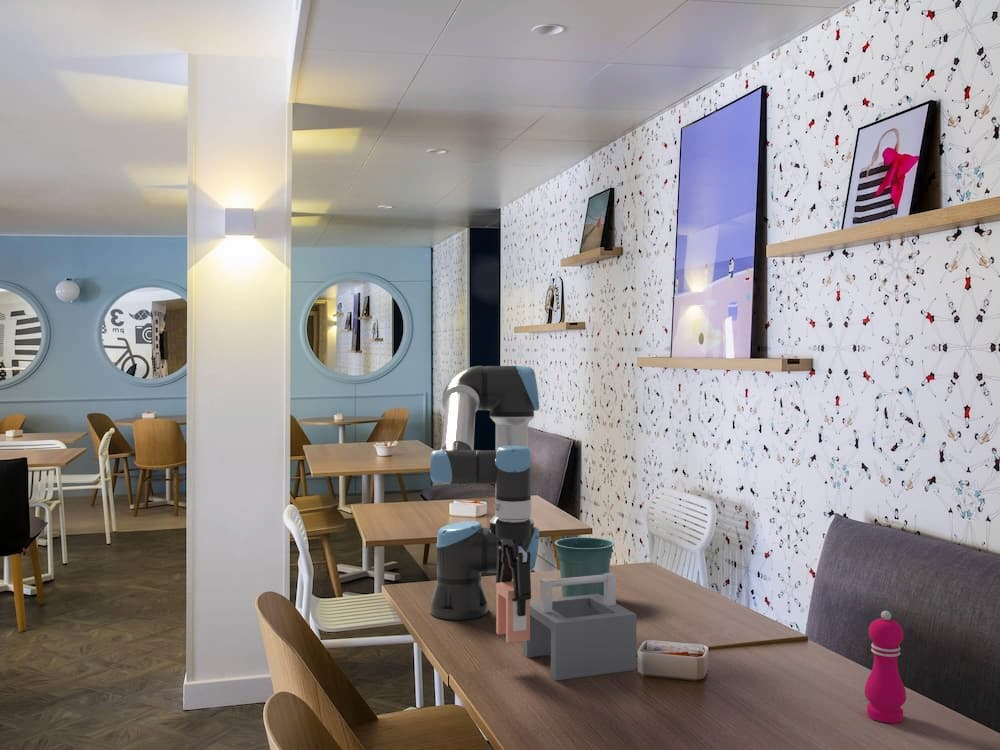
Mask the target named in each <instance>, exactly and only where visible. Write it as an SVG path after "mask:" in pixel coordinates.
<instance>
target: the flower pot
mask: <svg viewBox="0 0 1000 750" xmlns="http://www.w3.org/2000/svg"><path fill="white" fill-rule="evenodd" d="M554 546H556V551H557V553H556V554H557V558H558V562H559V572H560V573H559V575H560V579H561V578H571V577H582V576H593V575H603V574H604V573H610V566H611V559H612V556H613V555H612V553H613V547H614V546H615V542H614V541H613V540H610V539H608V538H607V539H606V538H601V537H587V536H586V537H585V536H582V537H581V536H580V537H579V536H578V537H577V536H575V537H567V538H561V539H558V540H556V541H554ZM591 594H600V595H602V596H604V582H597V583H587V584H577V585H566V586H561V596H562V597H571V596H581V595H591Z"/></svg>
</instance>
